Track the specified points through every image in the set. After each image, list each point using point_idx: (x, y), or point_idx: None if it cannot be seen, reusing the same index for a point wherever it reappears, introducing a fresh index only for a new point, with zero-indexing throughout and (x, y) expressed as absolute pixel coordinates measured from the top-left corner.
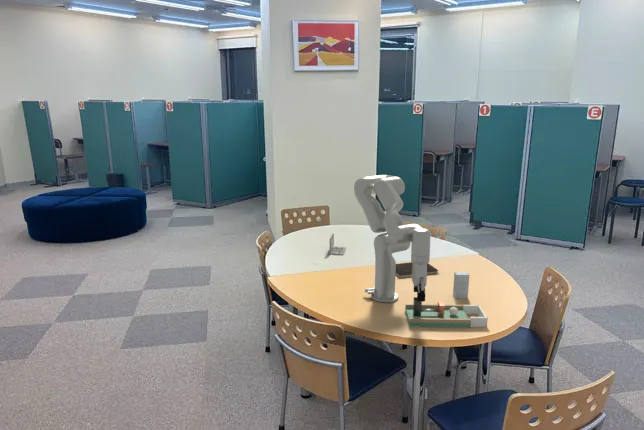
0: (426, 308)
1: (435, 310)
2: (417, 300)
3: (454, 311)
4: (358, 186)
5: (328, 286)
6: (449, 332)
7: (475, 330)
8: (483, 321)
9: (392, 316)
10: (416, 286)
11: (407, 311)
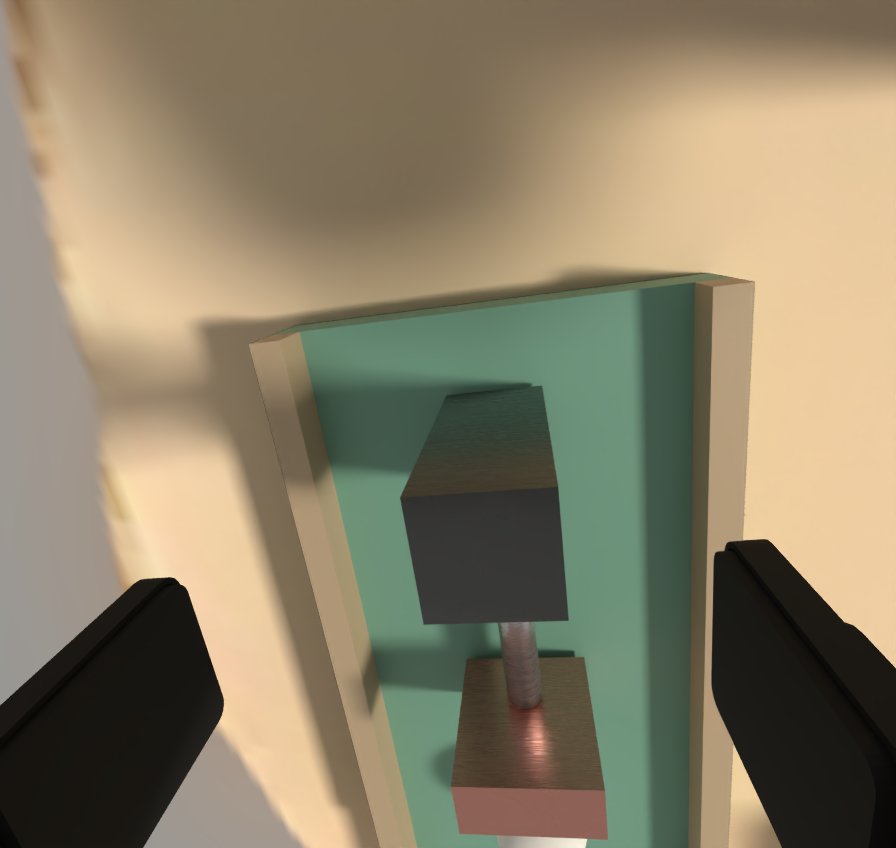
0: (688, 556)
1: (505, 670)
2: (133, 588)
3: (496, 836)
4: None
5: None
6: (286, 666)
7: (371, 830)
8: None
9: (523, 82)
10: (799, 737)
11: (576, 308)
